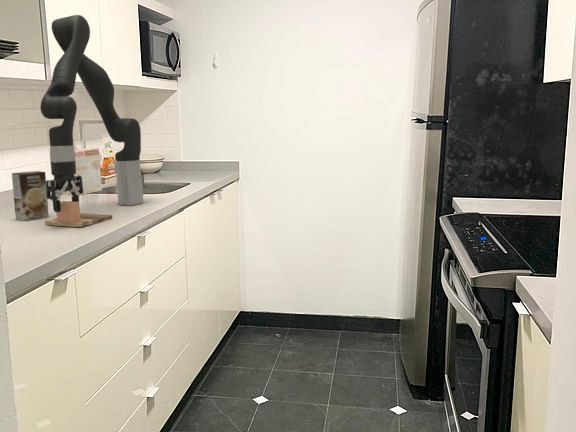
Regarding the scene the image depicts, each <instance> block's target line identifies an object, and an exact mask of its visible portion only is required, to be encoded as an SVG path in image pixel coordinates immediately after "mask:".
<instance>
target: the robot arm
mask: <svg viewBox="0 0 576 432" xmlns="http://www.w3.org/2000/svg"><path fill="white" fill-rule="evenodd" d="M51 31H52V34H53V37H54V39H55V41H56V43H57V44H58V45H59V47H60V49H61V50H62V52H63V55H62V56H61V57H59V60H58V61H56V64H55V66H54V69H53V72H52V78H51V81H50V84H49V86H48V88H47V90H46V92H45V93H44V95H43V97H42V99H41V101H40V112H41V114H42V116H43V117H44V118H45V119H49V120H63V121H62V123H61V124H60V125H57V126H54V127H50V129H48V130H49V131H48V137H49V160H50V172H51V175H52V176H53V179H47V180H46V191H47V200H51V201H52V208H53V212H54V213H56V212H61V204H60V202H61V197H62V196H63V195H64V193H67V192H66V191H68V192H70V193H71V195H70V196H71V201H72V202H79V203H80V196H81V195H80V194H82V195H84V194H83V184H82V177H81V176H74V174H76V161H75V151H74V150H75V147H74V133H73V132H74V124H75V120H76V115H77V112H78V111H77V109H78V107H77V102H76V101H75V99H74V98H73V97H71V95H73V93H74V91H75V86H76V80H77V75H78V77H79V79H80V80H81V82H82V85H83V86H84V88H85V90H86V91H87V93H88V95H89V96H90V98H91V100H92V102H93V103H94V105H95V107H96V109H97V111H98V113H99V115H100V117H101V119H102V122H103V124H104V126H105V130H106V131H107V133H108V135H109V137H110V138H111V140H113V141H114V142H117V143H123V148H122V149H121V150H120V151H117V152H115V154H114V160H115V176H116V187H117V188H116V189H117V201H118V203H117V204H118V205H119V206H137V205H141V204H143V202H144V190H143V189H144V184H143V185H142V178H141V171H140V170H141V160H140V158H141V157H140V156H141V152H142V146H141V145H142V142H141V141H142V138H141V137H142V133H141V125H140V123H139V122H138V120H137V119H135V118H133V117H132V118H130V117H129V118H127V117H126V118H123V117H122V118H121V117H120V116H119V115H118V113H117V111H116V109H115V107H114V99H115V88H114V84H113V82H112V80H111V78H110V76H109V75H108V73H107V70H105V69H104V68H103V67H102V66H101V65H100V64H98V63H96V62H95V61H94V60H93V59H91V58H90V57H88V56H87V55H85V50H86V48H87V46H88V43H89V40H90V38H91V37H90V36H91V28H90V24H89V22H88V21H87V19H86V18H85V17H84V16H83V15H80V14H74V15H70V16H64V17H60V18H56V19H55V20H53V21H52V23H51ZM78 186H79V189H80V190H78Z"/></svg>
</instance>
